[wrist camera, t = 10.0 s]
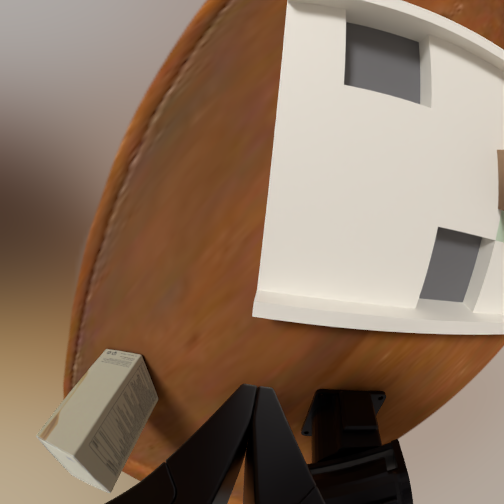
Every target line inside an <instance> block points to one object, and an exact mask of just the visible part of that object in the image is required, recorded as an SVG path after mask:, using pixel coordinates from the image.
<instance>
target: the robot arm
mask: <svg viewBox="0 0 504 504" xmlns="http://www.w3.org/2000/svg"><path fill="white" fill-rule="evenodd" d="M256 393H257V394H256ZM320 394H323V395H320ZM380 396H381V397H380ZM385 398H386V395H385V392H383V391H346V390H328V389H319V390H317V391H316V392H315V394H314V397H313V400H312V403H311V406H310V408H309V411H308V414H307V416H306V419H305V422H304V424H303V427H302V429H301V434H302V435H305V436H312V464H306V462H305V460H304V457H303V455H302V453H301V451H300V449H299V446H298V444H297V442H296V440H295V437H294V435H293V433H292V431H291V428H290V426H289V424H288V421H287V419H286V417H285V414H284V412H283V410H282V408H281V405H280V403H279V401H278V398H277V396H276V393H275V391H274V389H273V388H270V387H263V386H259V387H258V388H257V386H255V385H250V384H242V385H241V386H240V387H239V388H238V389H237V390H236V391H235V392H234V393H233V394H232V395H231V396H230V397H229V398H228V400H227V401H226V402H225V403H224V404H223V405H222V406H221V407H220V408H219V409H218V410H217V411H216V412H215V413H214V414H213V415H212V416H211V417H210V418H209V419H208V420H207V421H206V422H205V423H204V424H203V425H202V426H201V427H200V428H199V429H198V430H197V431H196V432H195V433H194V434H193V435H192V436H191V437H190V438H189V439H188V440H187V441H186V442H185V443H184V444H183V445H182V446H181V447H180V448H179V449H177V450H176V451H175V452H174V453H173V454H172V455H171V456H170V457H169V458H168V459H167V460H166V463H165V462H163V463H162V464H161V465H160V466H159V467H158V468H156V469H155V470H154V471H153V472H152V473H151V474H149V475H148V476H147V477H146V478H144V479H143V480H142V481H141V482H139V483H138V484H136V485H135V486H133V487H132V488H130V489H129V490H127V491H126V492H124V493H123V494H121V495H119V496H117V497H116V498H114V499H113V500H110V501H109V502H107V503H105V504H227V503H228V500H229V498H230V495H231V492H232V490H233V487H234V485H235V482H236V479H237V477H238V474H239V471H240V468H241V466H242V463H243V460H244V457H245V471H244V493H243V504H413V499H412V492H411V485H410V481H409V476H408V472H407V468H406V465H405V461H404V458H403V455H402V451H401V448H400V444H399V441H398V439H396V440H393V441H391V443H388V444H385V445H382V444H381V439H380V434H379V430H378V423H377V419H376V414H377V413H378V411H379V409H380V407H381V406H382V404H383V402H384V400H385ZM247 443H248V444H247ZM246 448H247V449H246ZM245 452H246V455H245Z"/></svg>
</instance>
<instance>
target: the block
mask: <svg viewBox="0 0 504 504" xmlns="http://www.w3.org/2000/svg"><path fill="white" fill-rule="evenodd" d="M497 159H498V209H500V210H503V211H504V150H497Z"/></svg>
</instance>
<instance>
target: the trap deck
mask: <svg viewBox="0 0 504 504" xmlns="http://www.w3.org/2000/svg"><path fill="white" fill-rule="evenodd" d="M497 150H504V50H503V49H501V48H500V47H498V46H497V45H495V44H494V43H492V42H490V41H489V40H487V39H485V38H484V37H482V36H480V35H478V34H477V33H475V32H473V31H471V30H469V29H467V28H465V27H463V26H462V25H460V24H457V23H455V22H453V21H451V20H449V19H447V18H445V17H443V16H440V15H438V14H436V13H433V12H431V11H429V10H426V9H424V8H421V7H418V6H416V5H413V4H410V3H407V2H404V1H401V0H287V11H286V22H285V33H284V44H283V54H282V64H281V75H280V85H279V95H278V105H277V115H276V125H275V134H274V144H273V153H272V163H271V172H270V181H269V190H268V199H267V209H266V218H265V226H264V235H263V244H262V253H261V261H260V270H259V279H258V287H257V292H256V296H255V299H254V306H253V314H252V316H253V317H260V318H267V319H274V320H281V321H288V322H296V323H304V324H313V325H322V326H331V327H341V328H351V329H363V330H375V331H389V332H405V333H426V334H464V335H489V334H504V211H503V210H500V209H498V159H497Z"/></svg>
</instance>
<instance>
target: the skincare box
mask: <svg viewBox="0 0 504 504" xmlns="http://www.w3.org/2000/svg"><path fill="white" fill-rule="evenodd" d="M157 401H158V396H157V393H156V391H155V388H154V386H153V383H152V380H151V378H150V375H149V373H148V370H147V368H146V365H145V362H144V360H143V357H142V355H140V354H134V353H129V352H123V351H118V350H110V349H106V350H105V351H104V352H103V353H102V355H101V356H100V357H99V358H98V359H97V360H96V362H95V363H94V364H93V365H92V366H91V367H90V369H89V370H88V371H87V372H86V374H85V375H84V376H83V377H82V378H81V380H80V381H79V382H78V383H77V384H76V386H75V387H74V388H73V389H72V390H71V392H70V393H69V394H68V395H67V397H66V398H65V399H64V400H63V402H62V403H61V404H60V406H59V407H58V408H57V409H56V411H55V412H54V413H53V415H52V416H51V417H50V418H49V420H48V421H47V422H46V423H45V425H44V426H43V427H42V429H41V430H40V431H39V433H38V434H37V435H36V437H37V438H38V439H39V440H40V441H41V442H42V444H43V445H44V446H45V447H46V448H47V450H48V451H49V452H50V453H51V454H52V455H53V456H54V457H55V458H56V459H57V460H58V461H59V462H60V463H61V464H62V465H63V467H64V468H66V469H67V470H68V471H69V472H70V474H72V475H73V476H74V477H76V478H78V479H80V480H82V481H83V482H86V483H88V484H90V485H92V486H94V487H96V488H98V489H100V490H103V491H105V492H108V493H111V491H112V489H113V487H114V485H115V483H116V481H117V479H118V477H119V475H120V473H121V471H122V469H123V467H124V465H125V463H126V461H127V459H128V457H129V455H130V453H131V451H132V449H133V448H134V446H135V444H136V442H137V440H138V438H139V436H140V434H141V432H142V430H143V428H144V426H145V424H146V422H147V420H148V418H149V416H150V414H151V412H152V411H153V409H154V407H155V405H156V403H157Z"/></svg>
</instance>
